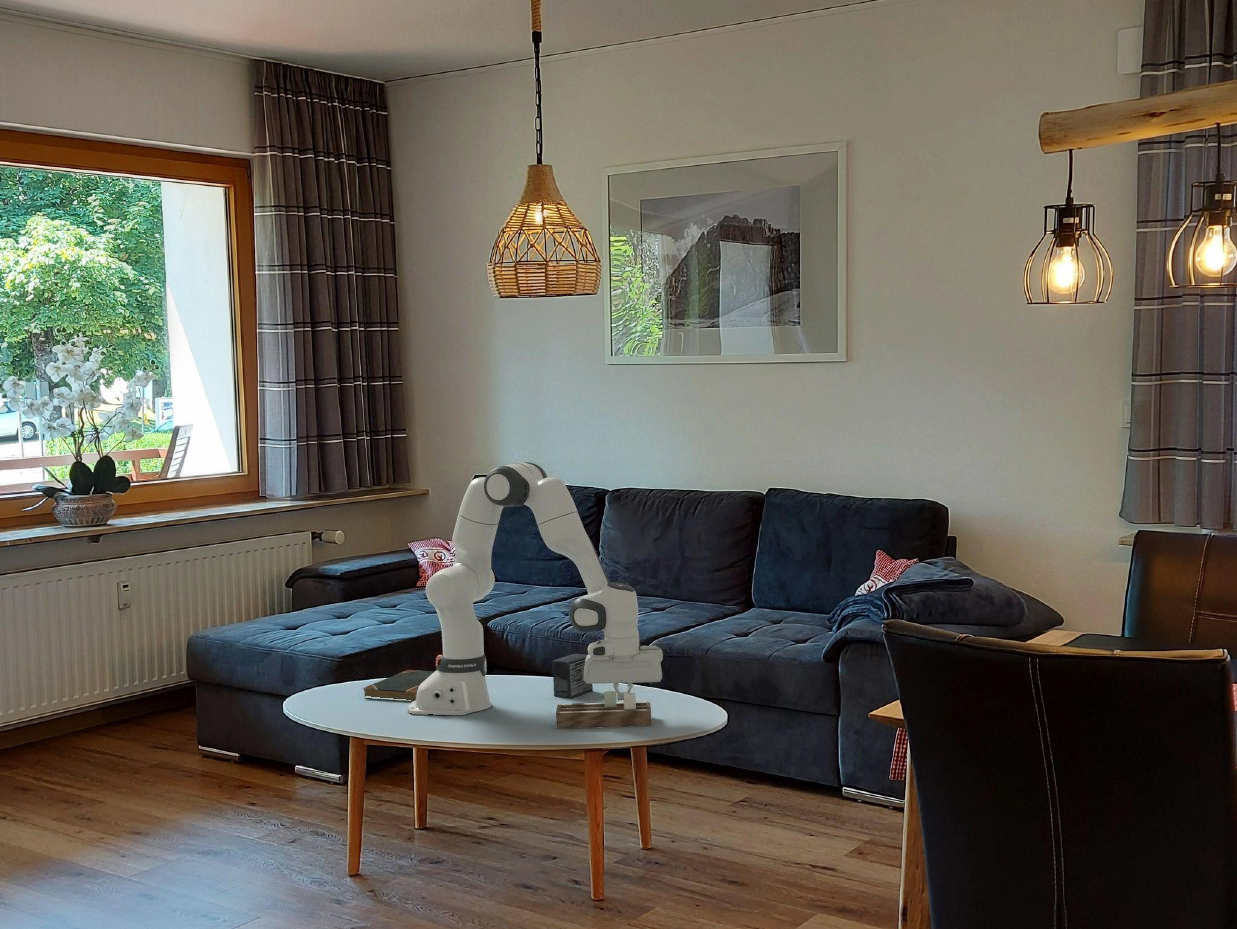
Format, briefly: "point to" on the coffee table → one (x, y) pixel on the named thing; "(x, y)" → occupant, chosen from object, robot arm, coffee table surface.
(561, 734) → the coffee table surface
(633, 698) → the offwhite block
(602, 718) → the wooden shelf rack
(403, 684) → the book
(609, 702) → the sage tab
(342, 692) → the coffee table surface
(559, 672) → the small box
